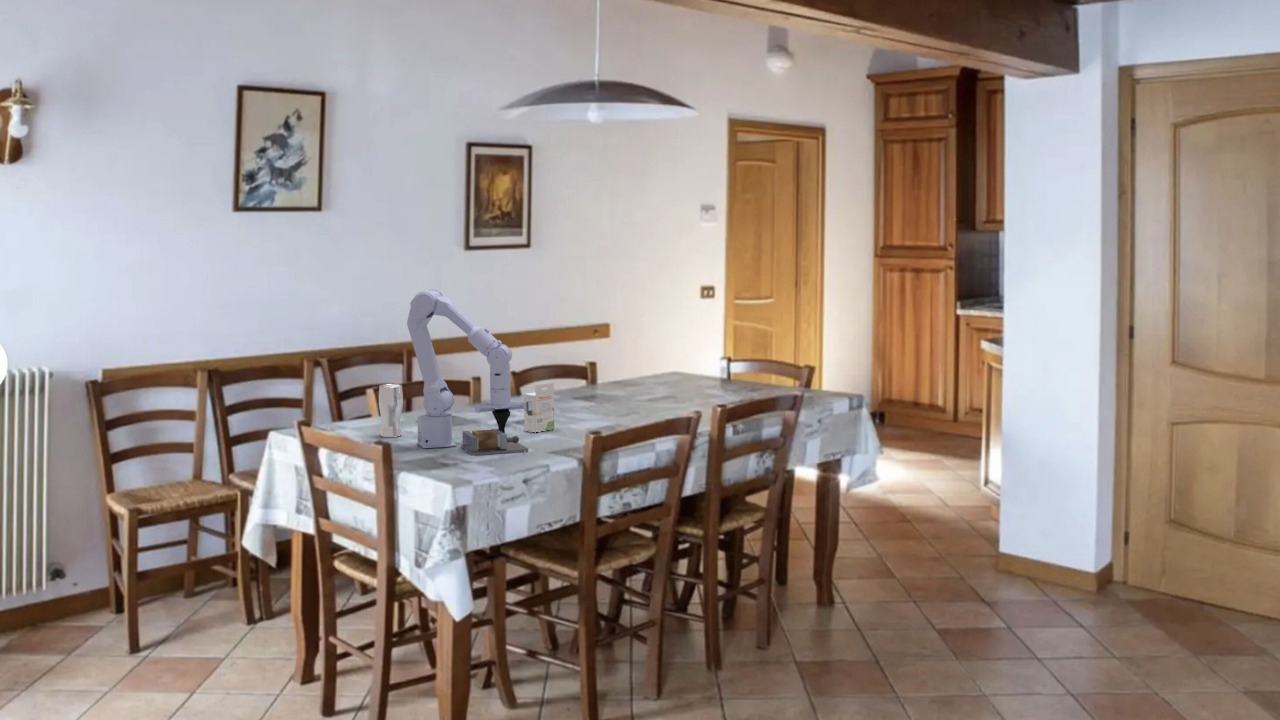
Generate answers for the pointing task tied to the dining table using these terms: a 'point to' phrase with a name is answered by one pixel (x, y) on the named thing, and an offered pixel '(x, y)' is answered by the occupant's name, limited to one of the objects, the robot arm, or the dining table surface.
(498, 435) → the slide jaw
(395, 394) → the beer glass
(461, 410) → the dining table surface
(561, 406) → the dining table surface
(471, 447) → the vise
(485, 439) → the block
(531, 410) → the ink box
